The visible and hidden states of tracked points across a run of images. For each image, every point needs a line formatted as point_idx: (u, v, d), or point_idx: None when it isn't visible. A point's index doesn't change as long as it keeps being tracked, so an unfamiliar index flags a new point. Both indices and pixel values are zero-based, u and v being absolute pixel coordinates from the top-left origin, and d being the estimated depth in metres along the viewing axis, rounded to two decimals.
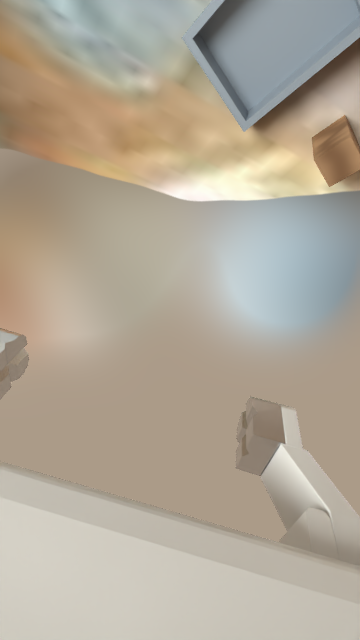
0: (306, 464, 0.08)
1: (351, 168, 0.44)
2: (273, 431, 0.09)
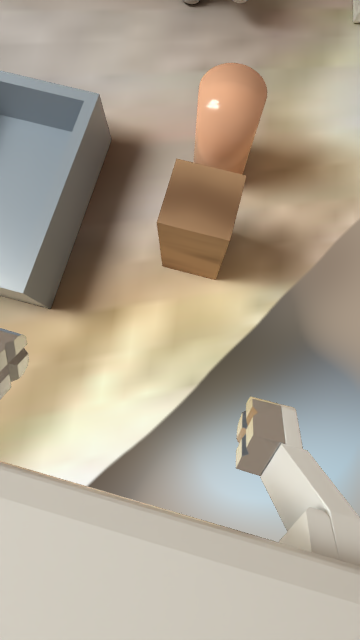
0: (306, 464, 0.08)
1: (229, 191, 0.21)
2: (273, 431, 0.09)
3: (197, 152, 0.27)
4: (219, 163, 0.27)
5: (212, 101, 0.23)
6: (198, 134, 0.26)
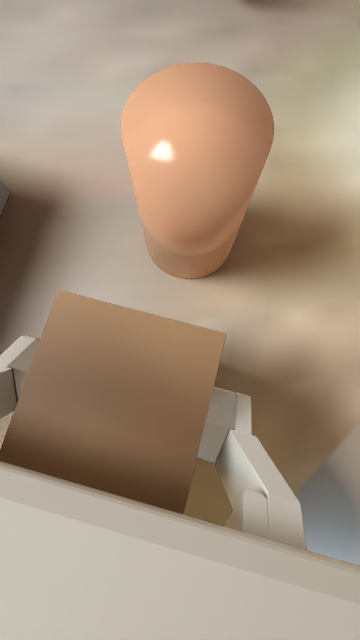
0: (252, 449, 0.08)
1: (183, 379, 0.08)
2: (224, 417, 0.09)
3: (143, 228, 0.15)
4: (183, 253, 0.14)
5: (150, 149, 0.10)
6: (138, 203, 0.13)
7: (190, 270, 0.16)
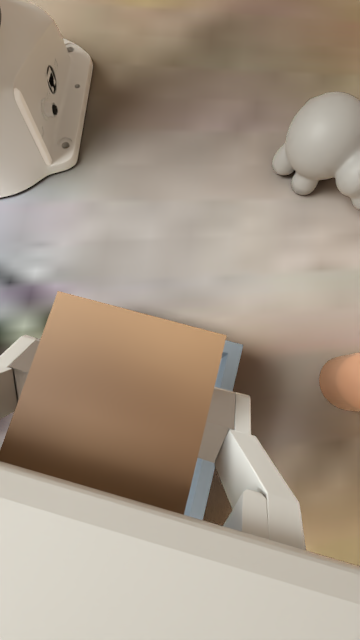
0: (252, 449, 0.08)
1: (183, 381, 0.08)
2: (223, 417, 0.09)
3: (338, 394, 0.26)
4: None
5: None
6: (349, 392, 0.25)
7: None
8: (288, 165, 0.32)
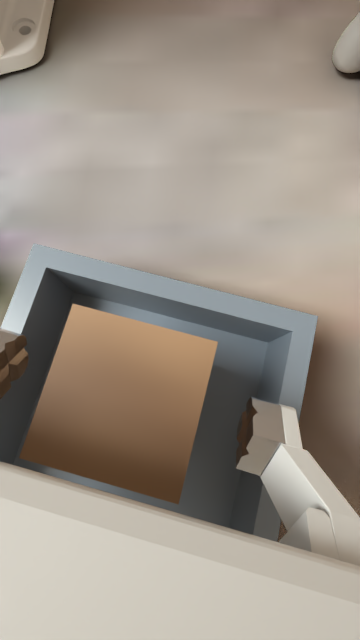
0: (306, 465, 0.08)
1: (180, 381, 0.10)
2: (273, 431, 0.09)
3: None
4: None
5: None
6: None
7: None
8: None
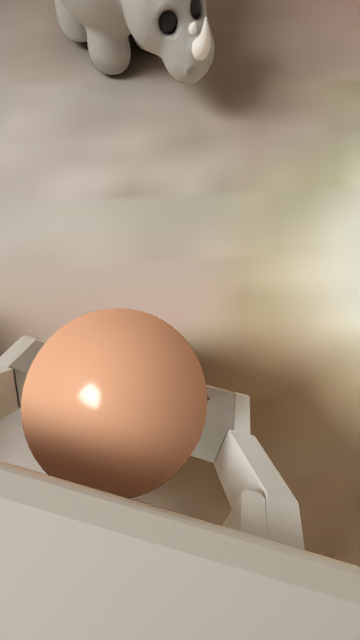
0: (251, 449, 0.08)
1: None
2: (223, 417, 0.09)
3: None
4: None
5: (55, 435, 0.08)
6: None
7: None
8: (72, 15, 0.19)
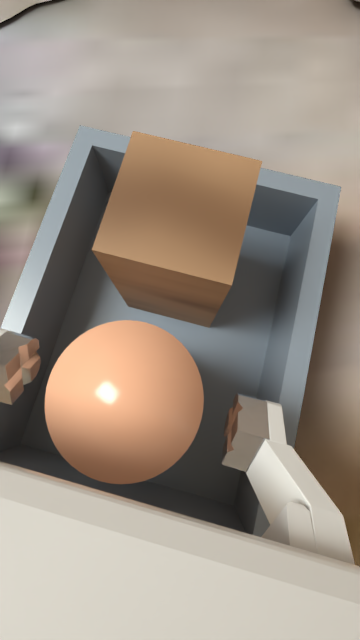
0: (289, 460, 0.08)
1: (230, 190, 0.11)
2: (258, 427, 0.09)
3: None
4: None
5: (73, 429, 0.10)
6: None
7: None
8: None
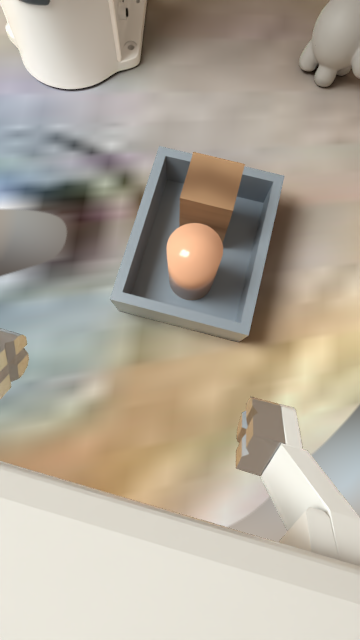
0: (306, 464, 0.08)
1: (232, 175, 0.29)
2: (273, 431, 0.09)
3: (170, 278, 0.32)
4: (188, 291, 0.31)
5: (177, 258, 0.27)
6: (169, 270, 0.30)
7: (191, 297, 0.33)
8: (313, 59, 0.40)
